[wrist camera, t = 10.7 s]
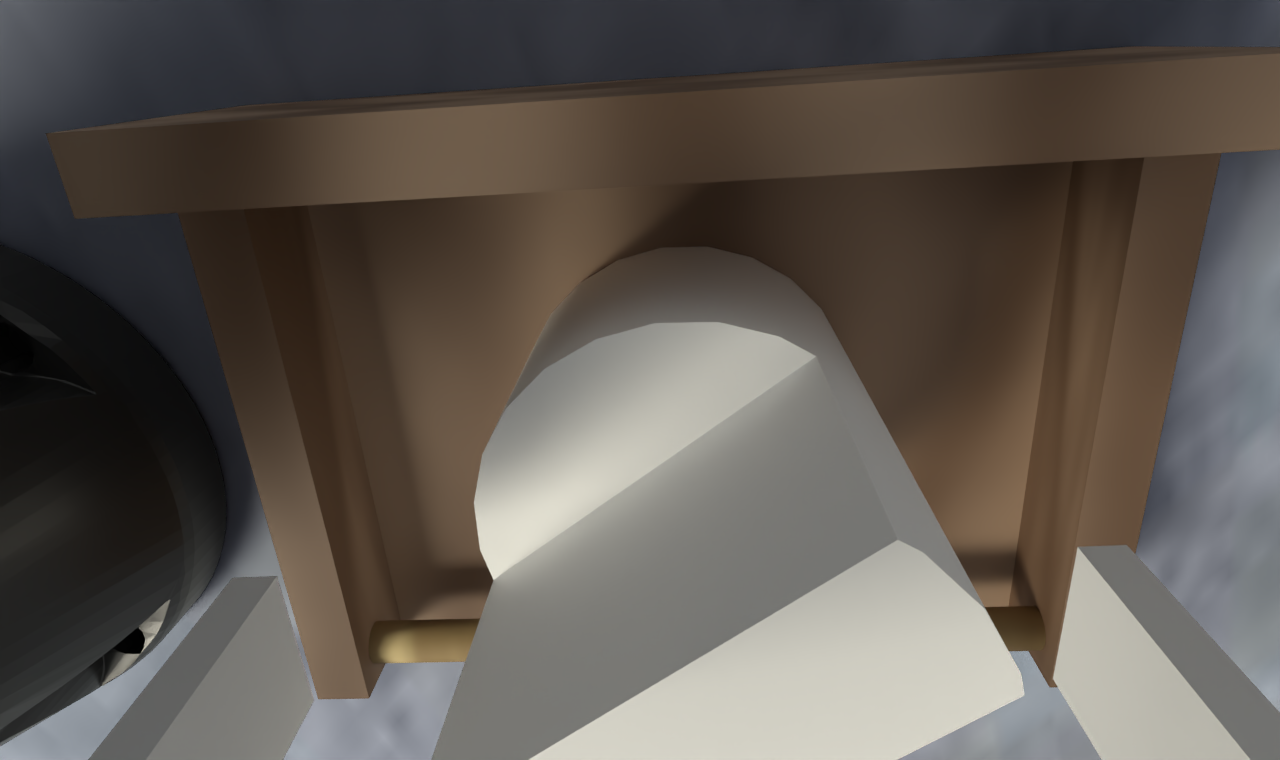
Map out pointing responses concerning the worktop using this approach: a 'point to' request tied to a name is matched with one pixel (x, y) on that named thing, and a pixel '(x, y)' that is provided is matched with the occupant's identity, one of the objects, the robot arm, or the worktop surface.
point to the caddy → (696, 217)
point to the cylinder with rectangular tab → (710, 542)
